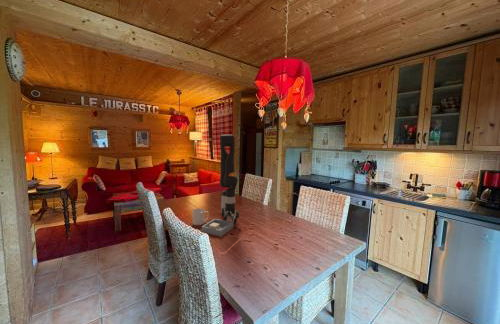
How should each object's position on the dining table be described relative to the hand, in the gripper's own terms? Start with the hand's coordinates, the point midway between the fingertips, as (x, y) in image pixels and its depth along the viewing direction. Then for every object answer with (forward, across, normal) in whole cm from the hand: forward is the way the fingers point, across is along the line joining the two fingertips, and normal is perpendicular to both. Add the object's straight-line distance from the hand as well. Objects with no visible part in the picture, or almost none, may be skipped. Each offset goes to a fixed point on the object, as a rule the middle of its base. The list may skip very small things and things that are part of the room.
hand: (230, 222), depth 159 cm
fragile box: (+2, +3, +17) cm, 18 cm away
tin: (+3, 0, 0) cm, 3 cm away
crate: (+3, +3, +13) cm, 13 cm away
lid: (-3, +3, +17) cm, 18 cm away
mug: (+3, +22, +8) cm, 23 cm away
